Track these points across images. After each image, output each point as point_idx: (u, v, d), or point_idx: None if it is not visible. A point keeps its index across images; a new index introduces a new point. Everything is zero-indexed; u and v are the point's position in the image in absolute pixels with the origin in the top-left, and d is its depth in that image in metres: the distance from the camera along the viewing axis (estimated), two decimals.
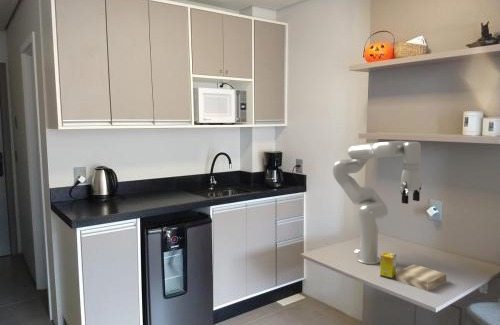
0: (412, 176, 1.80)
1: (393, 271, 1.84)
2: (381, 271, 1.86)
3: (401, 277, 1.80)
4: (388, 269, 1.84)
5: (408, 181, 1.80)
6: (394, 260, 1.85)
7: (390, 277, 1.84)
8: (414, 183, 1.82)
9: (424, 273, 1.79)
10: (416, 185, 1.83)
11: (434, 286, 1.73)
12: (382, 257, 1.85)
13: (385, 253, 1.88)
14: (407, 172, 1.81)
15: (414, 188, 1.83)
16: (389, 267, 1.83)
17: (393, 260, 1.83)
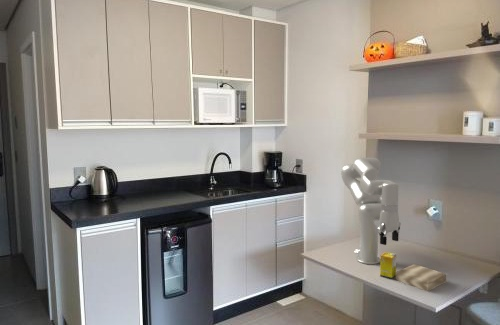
0: (390, 217, 1.80)
1: (393, 271, 1.84)
2: (381, 271, 1.86)
3: (401, 277, 1.80)
4: (388, 269, 1.84)
5: (386, 222, 1.80)
6: (394, 260, 1.85)
7: (390, 277, 1.84)
8: (392, 224, 1.82)
9: (424, 273, 1.79)
10: (394, 226, 1.83)
11: (434, 286, 1.73)
12: (382, 257, 1.85)
13: (385, 253, 1.88)
14: (385, 213, 1.81)
15: (392, 229, 1.82)
16: (389, 267, 1.83)
17: (393, 260, 1.83)
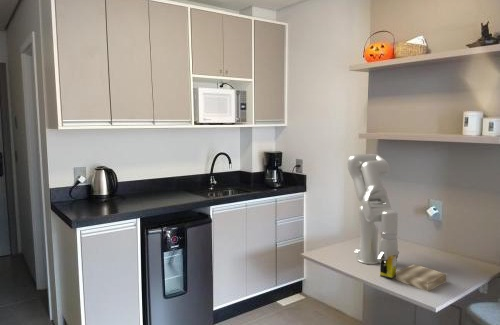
0: (389, 245, 1.82)
1: (393, 271, 1.84)
2: None
3: (401, 277, 1.80)
4: (388, 269, 1.84)
5: (385, 250, 1.82)
6: (394, 260, 1.85)
7: (390, 277, 1.84)
8: (391, 252, 1.83)
9: (424, 273, 1.79)
10: (393, 253, 1.85)
11: (434, 286, 1.73)
12: None
13: None
14: (384, 241, 1.82)
15: None
16: (389, 267, 1.83)
17: (393, 260, 1.83)
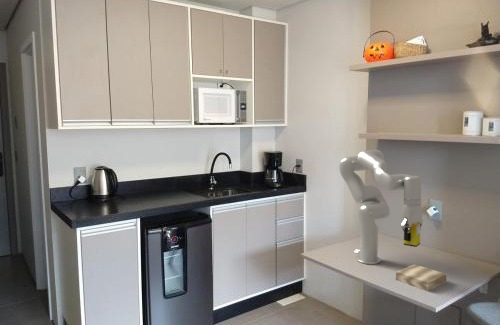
0: (413, 211, 1.76)
1: (417, 239, 1.77)
2: None
3: (401, 277, 1.80)
4: (412, 236, 1.77)
5: (409, 216, 1.75)
6: (418, 227, 1.78)
7: (414, 245, 1.77)
8: (415, 219, 1.77)
9: (424, 273, 1.79)
10: (417, 221, 1.78)
11: (434, 286, 1.73)
12: None
13: None
14: (408, 207, 1.76)
15: None
16: (413, 234, 1.77)
17: (417, 227, 1.77)
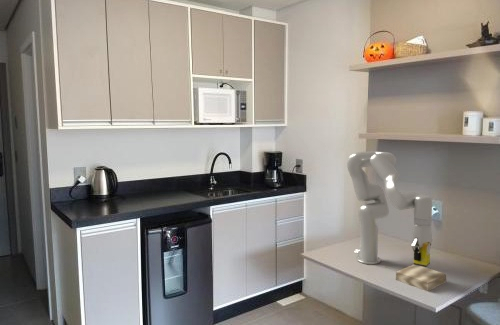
0: (423, 232, 1.75)
1: (427, 259, 1.77)
2: None
3: (401, 277, 1.80)
4: (422, 256, 1.76)
5: (419, 237, 1.74)
6: (428, 247, 1.77)
7: (424, 265, 1.76)
8: (425, 239, 1.76)
9: (424, 273, 1.79)
10: (427, 240, 1.77)
11: (434, 286, 1.73)
12: None
13: None
14: (418, 227, 1.75)
15: None
16: (424, 254, 1.76)
17: (427, 247, 1.76)
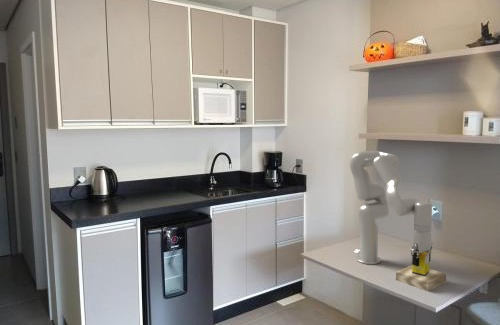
0: (423, 238, 1.75)
1: (426, 268, 1.77)
2: (413, 268, 1.80)
3: (401, 277, 1.80)
4: (421, 265, 1.77)
5: (419, 243, 1.75)
6: (427, 256, 1.78)
7: (423, 274, 1.77)
8: (425, 245, 1.76)
9: None
10: (427, 246, 1.78)
11: (434, 286, 1.73)
12: None
13: None
14: (418, 234, 1.75)
15: (425, 250, 1.77)
16: (422, 263, 1.76)
17: (426, 256, 1.76)
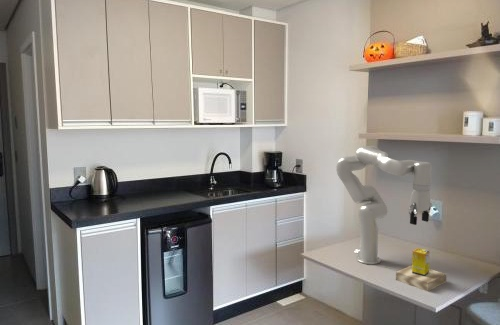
0: (421, 197, 1.78)
1: (426, 268, 1.77)
2: (413, 267, 1.80)
3: (401, 277, 1.80)
4: (421, 265, 1.77)
5: (417, 202, 1.78)
6: (427, 256, 1.78)
7: (423, 274, 1.77)
8: (423, 204, 1.79)
9: None
10: (425, 206, 1.81)
11: (434, 286, 1.73)
12: (414, 253, 1.79)
13: (417, 249, 1.81)
14: (416, 193, 1.78)
15: (423, 209, 1.80)
16: (422, 263, 1.76)
17: (426, 256, 1.76)
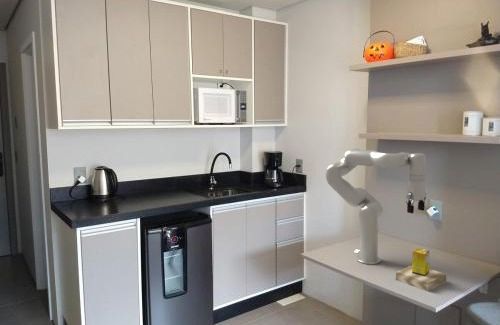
0: (417, 186, 1.87)
1: (426, 268, 1.77)
2: (413, 268, 1.80)
3: (401, 277, 1.80)
4: (421, 265, 1.77)
5: (413, 191, 1.87)
6: (427, 256, 1.78)
7: (423, 274, 1.77)
8: (419, 193, 1.89)
9: None
10: (421, 195, 1.90)
11: (434, 286, 1.73)
12: (414, 253, 1.79)
13: (417, 249, 1.81)
14: (413, 183, 1.87)
15: (419, 198, 1.89)
16: (422, 263, 1.76)
17: (426, 256, 1.76)
